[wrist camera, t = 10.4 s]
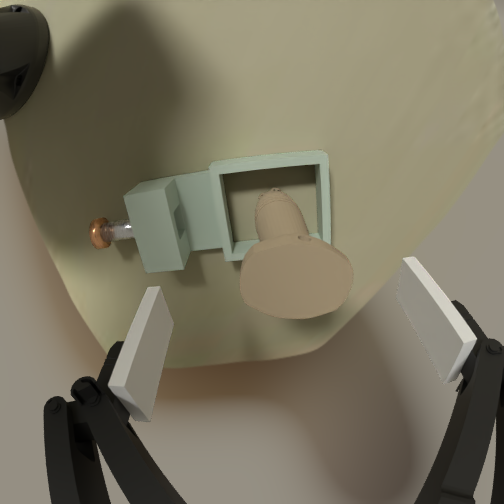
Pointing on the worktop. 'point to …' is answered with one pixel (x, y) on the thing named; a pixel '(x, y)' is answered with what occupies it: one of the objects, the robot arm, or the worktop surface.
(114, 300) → the worktop surface
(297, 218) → the handle
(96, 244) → the lock pin
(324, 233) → the dock
